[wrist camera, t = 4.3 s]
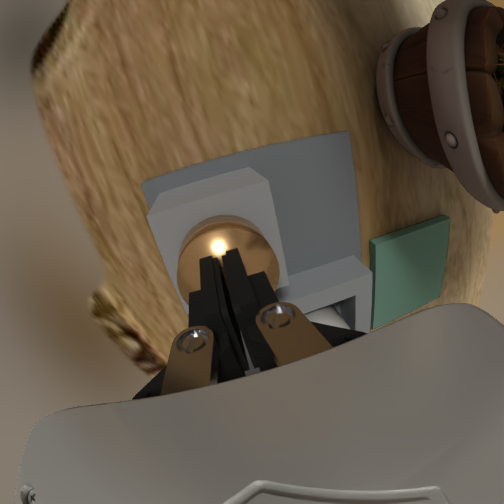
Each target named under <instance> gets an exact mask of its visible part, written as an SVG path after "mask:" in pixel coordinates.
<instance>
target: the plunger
mask: <svg viewBox="0 0 504 504" xmlns="http://www.w3.org/2000/svg"><path fill="white" fill-rule="evenodd" d="M234 248H238V250H239V253H240V256H241V259H242V261H243V264H244V267H245V270H246V273H247V275H248V276H249V275H252V274H255V273H259V272H262V271H264V272H265V273H266V275H267V278H268V280H269V282H270V284H271V286H272V288H273V290H274V292H275V290H276V288H277V285H278V282H279V277H280V268H279V263H278V259H277V257H276V255H275V253H274V251H273V249H272V248H271V246H270V245H269V243H268V241H267V240H266V238H265V236H264V235H263V233H262V232H261V231H260V229H259V228H258V227H257V226H256V225H254V224H253V223H252V222H250V221H249V220H247V219H244V218H242V217H239V216H234V215H217V216H213V217H209V218H207V219H205V220H203V221H201V222H199V223H198V224H196V225H195V226H194V227H193V228H192V229H190V231H189V232H188V233H187V234H186V236H185V238H184V239H183V241H182V244H181V247H180V251H179V259H178V268H177V285H178V289H179V292H180V294H181V296H182V298H183V300H184V301H185V302H186V304H187V305H188V306H189V293H190V292H194V291H197V290H201V287H200V267H199V259H201V258H204V257H207V256H211V255H212V257H213V258H216V257H218V260H219V263H220V266H221V269H222V272H223V275H224V278H225V281H226V276H225V271H224V267H223V262H222V257H221V256H223V255H226V252H225V251H228V250H231V249H234ZM226 284H227V281H226ZM227 287H228V285H227Z"/></svg>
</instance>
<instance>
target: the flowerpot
mask: <svg viewBox="0 0 504 504" xmlns="http://www.w3.org/2000/svg"><path fill="white" fill-rule="evenodd" d="M376 84H377V87H376V96H377V102H378V106H379V109H380V112H381V115H382V117H383V119H384V121H385V123H386V124H387V126H388V127H389V129H390V131H391V132H392V134H393V135H394V137H395V138H396V139H397V141H398V142H399V143H400V144H401V145H402V146H403V147H404V148H405V149H406V150H407V151H408V152H409V153H411V154H412V155H413V156H415V157H416V158H418V159H419V160H421V161H422V162H424V163H426V164H427V165H429V166H430V167H432V168H448V169H450V170H451V171H453V172H454V173H455V174H456V176H457V178H458V180H459V181H460V182H461V184H462V185H463V187H464V188H465V189H466V190H467V191H468V192H469V193H470V194H471V195H472V196H473V197H474V198H475V199H476V200H478V201H479V202H480V203H482V204H483V205H485V206H487V207H489V208H492V211H493V212H494V213H499V212H500V211H504V9H503V8H501V7H496V6H494V5H493V4H492V3H490V2H488V1H486V0H446V1H444V2H442V3H441V4H439V5H438V6H437V7H436V8H435V10H434V12H433V14H432V17H431V20H430V23H428V24H427V25H426V26H424V27H423V28H420V27H414V28H409V29H406V30H404V31H402V32H400V33H398V34H397V35H395V36H394V37H393V38H391V39H390V40H389V41H388V42H387V43H384V44H382V51H381V53H380V56H379V59H378V63H377V72H376Z"/></svg>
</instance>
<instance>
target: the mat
mask: <svg viewBox="0 0 504 504" xmlns="http://www.w3.org/2000/svg"><path fill="white" fill-rule="evenodd" d="M449 230H450V218H449V217H447V216H445V215H442V216H439V217H436V218H433V219H431V220H428V221H425V222H422V223H419V224H416V225H413V226H410V227H407V228H405V229H402V230H399V231H396V232H393V233H390V234H387V235H384V236H381V237H378V238H375V239H372V240H370V271H372V307H371V325H370V326H371V328H372V329H375V328H377V327H380V326H382V325H384V324H386V323H388V322H390V321H393V320H395V319H397V318H399V317H401V316H403V315H405V314H407V313H409V312H411V311H413V310H415V309H417V308H419V307H421V306H423V305H425V304H427V303H429V302H431V301H432V300H434V299H436V298H438V297H440V293H441V288H442V282H443V277H444V271H445V264H446V257H447V249H448V241H449Z"/></svg>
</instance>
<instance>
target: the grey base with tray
mask: <svg viewBox="0 0 504 504" xmlns="http://www.w3.org/2000/svg"><path fill="white" fill-rule="evenodd" d="M141 186H142V189H143V192H144V195H145V198H146V201H147V204H148V207H149V210H150V211H149V213H148V215H147V219H148V222H149V225H150V227H151V230H152V233H153V235H154V238H155V240H156V243H157V246H158V248H159V251H160V253H161V256H162V258H163V261H164V263H165V265H166V268H167V270H168V273H169V275H170V277H171V280H172V282H173V284H174V287H175V289H176V291H177V294H178V296H179V298H180V300H181V303H182V305H183V307H184V309H185V311H186V313H187V315H188V314H189V306H188V305H187V304H186V302H185V301H184V300H183V298H182V296H181V294H180V292H179V289H178V285H177V268H178V259H179V251H180V247H181V244H182V241H183V239H184V238H185V236H186V234H187V233H188V232H189V231H190V229H192V228H193V227H194V226H195V225H196V224H198V223H199V222H201V221H203V220H205V219H207V218H209V217H213V216H217V215H234V216H239V217H242V218H244V219H247V220H249V221H250V222H252V223H253V224H254V225H256V226H257V227H258V228H259V229H260V231H261V232H262V233H263V235H264V236H265V238H266V240H267V241H268V243H269V245H270V246H271V248H272V249H273V251H274V253H275V255H276V257H277V259H278V263H279V268H280V277H279V282H278V285H277V288H276V290H275V294H276V296H277V298H278V300H279V302H289V303H291V304H294V305H295V306H297V307H298V308H299V309H300V310H301V312H302V313H303V314H305V313H308V312H311V311H313V310H316V309H319V308H322V307H325V306H328V305H330V304H333V305H334V307H335V308H336V309H337V311H338V312H339V314H340V315H341V316H342V318H343V319H344V321H345V322H346V323H347V325H348V326H349V328H350V329H351V330H356V331H361V332H364V333H370V325H371V307H372V271H370V270H369V269H368V268H367V267H366V266H365V265H364V264H363V263H362V262H361V239H360V222H359V209H358V197H357V187H356V178H355V169H354V162H353V154H352V147H351V141H350V134H349V132H343V131H342V132H336V133H329V134H323V135H317V136H312V137H306V138H301V139H295V140H290V141H285V142H281V143H276V144H271V145H267V146H262V147H258V148H254V149H250V150H246V151H241V152H238V153H234V154H230V155H226V156H222V157H219V158H215V159H211V160H208V161H204V162H201V163H197V164H194V165H191V166H187V167H184V168H181V169H178V170H175V171H172V172H169V173H165V174H162V175H160V176H157V177H154V178H151V179H148V180H145V181H143V182H142V183H141ZM240 332H241V331H240ZM241 336H242V334H241ZM242 340H243V344H244V348H245V352H246V356H247V360H248V364H249V368H250V370H248V371H245V374H246V376H248V375H251V374H255V373H258V372H261V371H260V369H259V368H255V369H254V367H253V364H252V362H251V359H250V356H249V353H248V351H247V348H246V345H245V342H244V339H243V337H242Z"/></svg>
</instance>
